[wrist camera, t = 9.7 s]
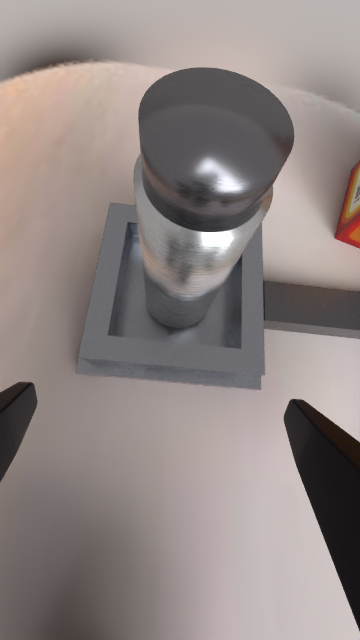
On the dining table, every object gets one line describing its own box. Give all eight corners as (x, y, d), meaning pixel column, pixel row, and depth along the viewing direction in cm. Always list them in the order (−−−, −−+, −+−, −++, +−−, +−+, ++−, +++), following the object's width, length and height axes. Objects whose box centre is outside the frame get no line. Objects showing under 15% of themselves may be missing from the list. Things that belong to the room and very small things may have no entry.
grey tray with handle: (450, 407, 20) (510, 410, 16) (80, 373, 18) (62, 368, 15) (416, 262, 24) (459, 240, 20) (110, 224, 22) (101, 193, 19)
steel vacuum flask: (221, 310, 19) (338, 159, 7) (164, 339, 18) (181, 219, 6) (190, 258, 20) (244, 47, 8) (134, 282, 19) (97, 81, 7)
